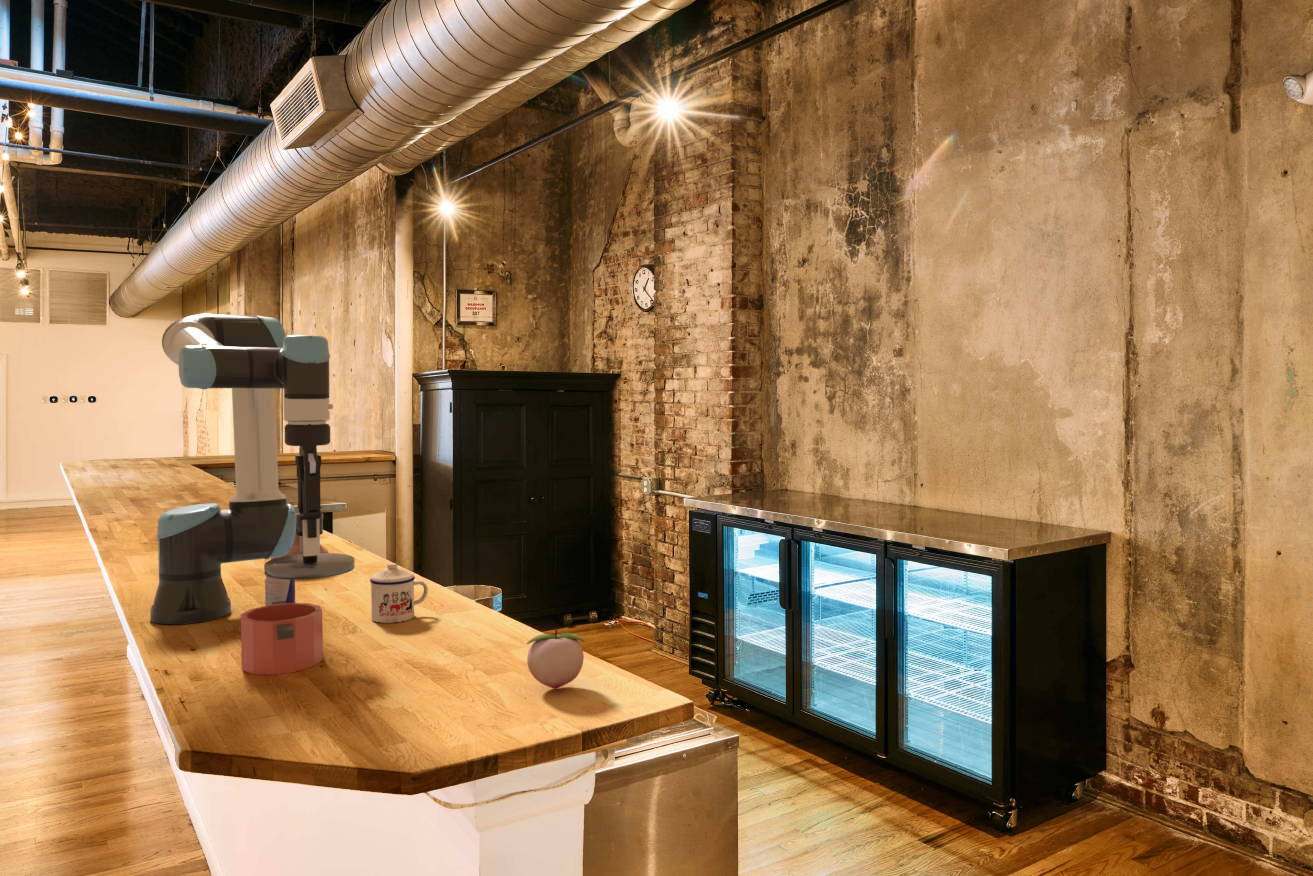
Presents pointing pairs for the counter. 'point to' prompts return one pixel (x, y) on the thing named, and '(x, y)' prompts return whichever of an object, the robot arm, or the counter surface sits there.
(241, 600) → the counter surface
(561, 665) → the decorative fruit
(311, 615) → the pot
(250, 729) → the counter surface
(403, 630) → the counter surface
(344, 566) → the lid
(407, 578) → the teacup with lid
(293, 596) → the energy drink
